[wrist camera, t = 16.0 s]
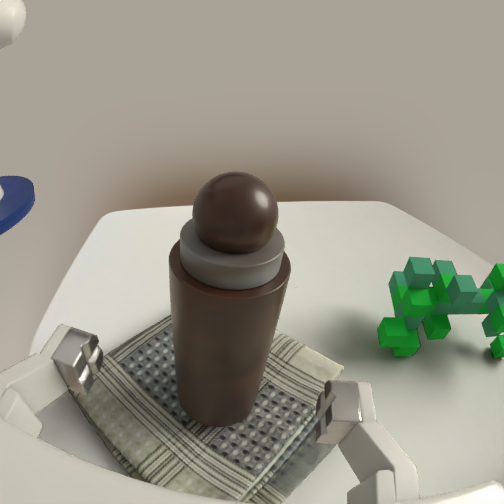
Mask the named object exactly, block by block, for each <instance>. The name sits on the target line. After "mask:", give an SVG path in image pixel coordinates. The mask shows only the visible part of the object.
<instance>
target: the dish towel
mask: <svg viewBox="0 0 504 504" xmlns="http://www.w3.org/2000/svg"><path fill="white" fill-rule="evenodd" d="M343 368H344V367H343V366H342V365H340V364H338V363H336V362H334V361H333V360H331V359H329V358H327V357H325V356H323V355H321V354H320V353H318V352H316V351H314V350H312V349H310V348H308V347H307V346H305V345H303V344H301V343H299V342H298V341H296V340H294V339H292V338H290V337H289V336H287V335H285V334H283V333H281V332H280V331H278V330H275V334H274V338H273V341H272V345H271V349H270V352H269V356H268V359H267V363H266V367H265V370H264V374H263V377H262V381H261V384H260V388H259V391H258V394H257V398H256V401H255V404H254V407H253V409H252V411H251V412H250V414H249V415H248V416H247V417H246V418H245V419H243V420H242V421H240V422H238V423H236V424H234V425H231V426H226V427H211V426H207V425H203V424H201V423H199V422H197V421H195V420H193V419H192V418H191V417H189V416H188V415H187V414H186V412H185V411H184V410H183V408H182V407H181V405H180V402H179V399H178V391H177V381H176V371H175V360H174V348H173V334H172V319H171V315H170V316H168V317H166V318H164V319H163V320H161V321H160V322H158V323H156V324H155V325H153V326H151V327H150V328H148V329H146V330H145V331H143V332H141V333H139V334H138V335H136V336H134V337H133V338H131V339H130V340H128V341H127V342H125V343H124V344H122V345H121V346H119V347H117V348H116V349H114V350H112V351H111V352H109V353H108V354H107V355H105V356H104V357H103V362H102V367H101V369H100V371H99V373H97V374H95V375H94V376H93V379H94V383H93V385H92V387H91V389H90V391H89V393H88V395H85V394H82V393H79V392H76V391H74V390H71V389H69V390H68V391H69V393H70V394H71V395H72V396H73V397H74V399H75V400H76V402H77V404H78V405H79V407H80V408H81V410H82V412H83V413H84V415H85V417H86V418H87V419H88V421H89V422H90V424H91V425H92V426H93V428H94V429H95V431H96V432H97V434H98V435H99V436H100V437H101V439H102V440H103V442H104V443H105V445H106V446H107V447H108V449H109V450H110V451H111V452H112V454H113V455H114V457H115V458H116V459H117V460H118V461H119V463H120V464H121V465H122V466H123V467H124V468H125V470H126V471H127V472H128V473H129V474H130V475H131V476H132V477H133V478H134V479H137V480H140V481H144V482H147V483H151V484H154V485H158V486H161V487H165V488H169V489H173V490H177V491H181V492H186V493H190V494H195V495H200V496H205V497H210V498H216V499H222V500H228V501H235V502H243V503H251V504H281V503H282V502H283V501H284V500H285V499H286V498H287V497H288V496H289V495H290V494H291V492H292V491H293V490H294V489H295V488H296V487H297V486H298V485H299V484H301V482H302V481H303V480H304V479H305V478H306V477H307V476H308V475H309V474H310V473H311V472H312V471H313V470H314V469H315V467H316V466H317V465H318V464H319V463H320V462H321V461H322V460H323V459H324V458H325V457H326V456H327V455H328V454H329V453H330V452H331V450H332V449H333V448H334V447H335V445H336V444H324V443H316V426H317V424H318V422H319V420H318V419H317V417H316V403H317V399H318V396H319V394H320V392H322V391H324V385H325V383H326V381H328V380H337V378H338V377H339V376H340V375H341V374H342V372H343Z"/></svg>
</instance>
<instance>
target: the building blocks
mask: <svg viewBox="0 0 504 504" xmlns="http://www.w3.org/2000/svg"><path fill="white" fill-rule="evenodd" d="M431 282H432V285H433V287H429V285H430V283H431ZM389 288H390V293H391V297H392V302H393V307H394V312H395V318H389V317H384V318H383V320H382V321H381V323H380V325H379V327H378V329H377V330H378V337H379V343H380V347H392V349H393V356H394V357H403V356H413V355H414V354H415V352H416V351H417V350H418V349H419V347H420V342H419V337H418V333H417V328H418V326H419V325H420V323H421V322H422V320H423V324H424V328H425V333H426V337H427V340H435V339H444V338H445V336H446V335H447V334H448V333H449V331H450V330H451V326H450V323H449V320H448V316H447V315H448V314H488V316H487V317H486V318H485V319H484V321H483V322H482V326H483V329H484V332H485V335H486V337H492V336H497V337H496V338H495V340H494V341H493V342H492V343H491V344H490V346H491V350H492V353H493V356H494V358H500V357H504V335H499V334H500V333H501V332H504V264H496V265H495V266H494V268H493V269H492V271H491V273H490V274H489V276H488V277H487V278H486V279H485V281H484V282H483V284H482V286H481V287H480V288H476V285H475V283H474V280H473V278H472V276H471V275H457V273H456V270H455V268H454V265H453V263H452V261H443V260H435V262H434V264H433V266H432V263H431V261H430V258H420V257H409V260H408V262H407V264H406V267H405V269H404V271H403V272H399V271H394V272H393V275H392V277H391V279H390V282H389Z"/></svg>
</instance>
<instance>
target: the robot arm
mask: <svg viewBox="0 0 504 504" xmlns="http://www.w3.org/2000/svg"><path fill="white" fill-rule="evenodd" d="M25 19H26V9H25V5H24V3H23V1H22V0H0V49H1V48H3V47H5V46H7V45H10V44H12V43H13V42H14V41H15V40H16V39H17V38H18V36H19V35H20V33H21V31H22V29H23V26H24V24H25ZM3 195H4V191H3V189H2V187H1V185H0V200H1V199H2V197H3ZM98 342H99V340H98V337H97V335H94V334H91V333H88V332H85V331H82V330H79V329H76V328H73V327H70V326H67V325H64V324H61V325H59V326H58V327H57V329H56V330H55V331H54V333H53V334H52V336H51V337H50V339H49V340H48V342H47V343H46V345H45V346H44V348H43V349H42V351H41V352H40V354H38V353H36V354H34V355H32V356H30V357H28V358H26V359H24V360H22V361H21V362H19V363H17V364H15V365H13V366H11V367H9V368H7V369H5V370H4V371H2V372H0V504H251V503H243V502H235V501H228V500H222V499H216V498H210V497H205V496H200V495H195V494H190V493H186V492H181V491H177V490H173V489H169V488H165V487H161V486H158V485H154V484H151V483H147V482H144V481H140V480H137V479H134V478H131V477H128V476H125V475H122V474H119V473H116V472H113V471H111V470H108V469H105V468H103V467H100V466H97V465H95V464H92V463H90V462H87V461H85V460H83V459H80V458H78V457H76V456H73V455H71V454H69V453H67V452H65V451H62V450H60V449H58V448H56V447H54V446H52V445H50V444H48V443H46V442H44V441H42V440H40V439H38V436H39V434H40V432H41V430H42V428H43V424H42V422H41V421H40V420H39V419H38V417H37V416H36V415H35V414H37V413H38V412H39V411H41V410H42V409H43V408H45V407H46V406H48V405H49V404H50V403H52V402H53V401H54V400H56V399H57V398H58V397H60V396H61V395H63V394H64V393H65V392H67V391H68V390H69V389H71V390H74V391H76V392H79V393H82V394H85V395H88V393H89V391H90V389H91V387H92V385H93V383H94V379H93V376H94V375H95V374H97V373H99V371H100V369H101V367H102V362H103V352H102V349H101V348H100V347H99V346H98V345H97V344H98ZM316 417H317V419H318V420H319V422H318V424H317V426H316V443H324V444H339V445H338V446H339V448H340V450H341V451H342V453H343V455H344V456H345V458H346V460H347V461H348V463H349V464H350V466H351V468H352V469H353V471H354V473H355V474H356V476H357V478H358V479H359V481H360V482H361V483H360V484H359V485H357V486H356V487H354V488H352V489H351V490H350V491H349V492H347V504H504V487H503V486H502V485H501V484H500V483H499V482H497V481H489V482H486V483H482V484H479V485H476V486H472V487H469V488H465V489H461V490H457V491H453V492H449V493H445V494H440V495H436V496H431V497H426V498H420V493H419V484H418V476H417V468H416V465H415V464H414V463H413V462H412V461H411V459H410V458H409V457H408V456H407V455H406V453H405V452H404V451H403V450H402V449H401V447H400V446H399V445H398V444H397V442H396V441H395V440H394V439H393V438H392V436H391V435H390V434H389V433H388V432H387V430H386V429H385V428H384V427H383V425H382V424H381V423H377V422H376V415H375V408H374V401H373V394H372V388H371V385H370V383H367V382H355V381H338V380H328V381H326V383H325V385H324V391H322V392H320V394H319V396H318V399H317V403H316Z"/></svg>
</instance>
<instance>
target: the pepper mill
mask: <svg viewBox="0 0 504 504" xmlns="http://www.w3.org/2000/svg"><path fill="white" fill-rule="evenodd" d="M192 216H193V218H192V219H191V220H189V221H188V222H187V223H186V224H185V225H184V226H183V228H182V230H181V233H180V240H178V241H177V242H176V243H175V245H174V246H173V247H172V249H171V252H170V255H169V279H170V301H171V319H172V334H173V348H174V360H175V371H176V381H177V391H178V399H179V402H180V405H181V407H182V408H183V410H184V411H185V412H186V414H187V415H188V416H189V417H191V418H192V419H193V420H195V421H197V422H199V423H201V424H203V425H207V426H211V427H226V426H231V425H234V424H236V423H238V422H240V421H242V420H243V419H245V418H246V417H247V416H248V415H249V414H250V412H251V411H252V409H253V407H254V404H255V401H256V398H257V394H258V391H259V388H260V384H261V381H262V377H263V374H264V370H265V367H266V363H267V359H268V356H269V352H270V349H271V345H272V341H273V338H274V334H275V330H276V327H277V323H278V319H279V315H280V311H281V308H282V304H283V300H284V296H285V292H286V288H287V284H288V280H289V276H290V271H291V265H290V261H289V258H288V256H287V254H286V253H285V252H284V247H285V241H284V238H283V236H282V234H281V232H280V231H279V230H278V229H277V228H276V227H277V223H278V206H277V202H276V199H275V197H274V195H273V193H272V191H271V190H270V188H269V187H268V186H267V185H266V184H265V183H264V182H263V181H261V180H260V179H259V178H257V177H255V176H253V175H251V174H248V173H244V172H228V173H223V174H220V175H218V176H216V177H214V178H213V179H211V180H209V181H208V182H207V183H206V184H205V185H204V186H203V187H202V188H201V190H200V191H199V193H198V195H197V197H196V199H195V202H194V205H193V212H192Z"/></svg>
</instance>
